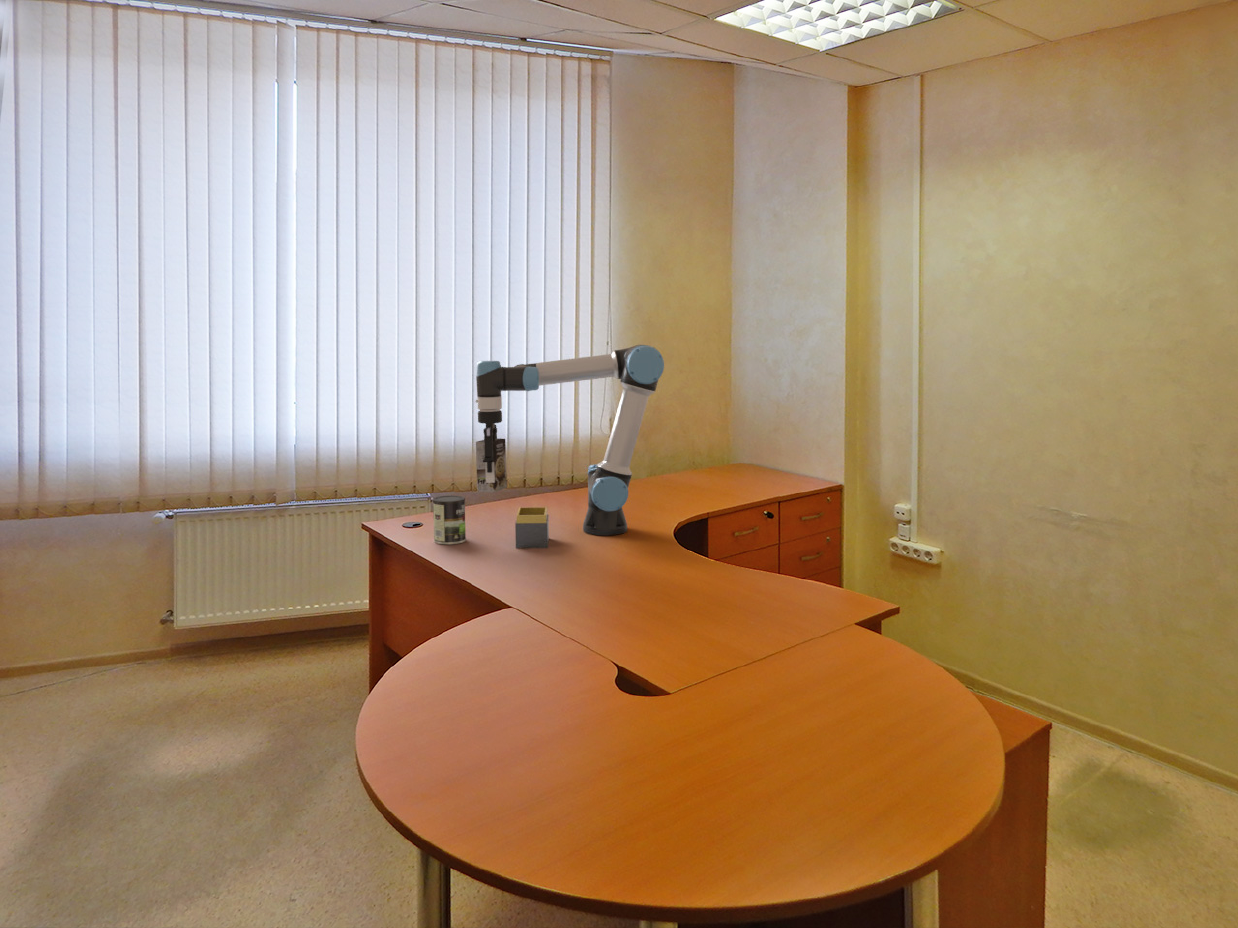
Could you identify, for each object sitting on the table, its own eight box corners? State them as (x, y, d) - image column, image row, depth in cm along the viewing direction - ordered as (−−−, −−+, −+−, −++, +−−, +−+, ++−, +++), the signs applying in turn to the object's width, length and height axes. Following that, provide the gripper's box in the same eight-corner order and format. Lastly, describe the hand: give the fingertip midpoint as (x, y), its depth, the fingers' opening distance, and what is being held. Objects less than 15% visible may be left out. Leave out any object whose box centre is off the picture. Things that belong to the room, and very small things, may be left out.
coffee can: (470, 537, 279) (469, 495, 277) (458, 545, 269) (457, 502, 267) (441, 536, 281) (440, 494, 279) (428, 543, 271) (427, 500, 269)
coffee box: (494, 493, 265) (493, 442, 262) (476, 491, 267) (474, 441, 264) (507, 487, 273) (506, 438, 271) (489, 486, 275) (488, 437, 273)
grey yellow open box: (548, 538, 279) (548, 506, 277) (547, 547, 267) (547, 515, 265) (518, 538, 278) (517, 507, 277) (515, 548, 266) (515, 515, 265)
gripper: (481, 406, 277) (484, 473, 281) (473, 414, 255) (476, 486, 258) (504, 406, 277) (506, 472, 281) (498, 413, 255) (500, 485, 259)
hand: (492, 479), depth 270 cm, fingers closed on coffee box, 10 cm apart
